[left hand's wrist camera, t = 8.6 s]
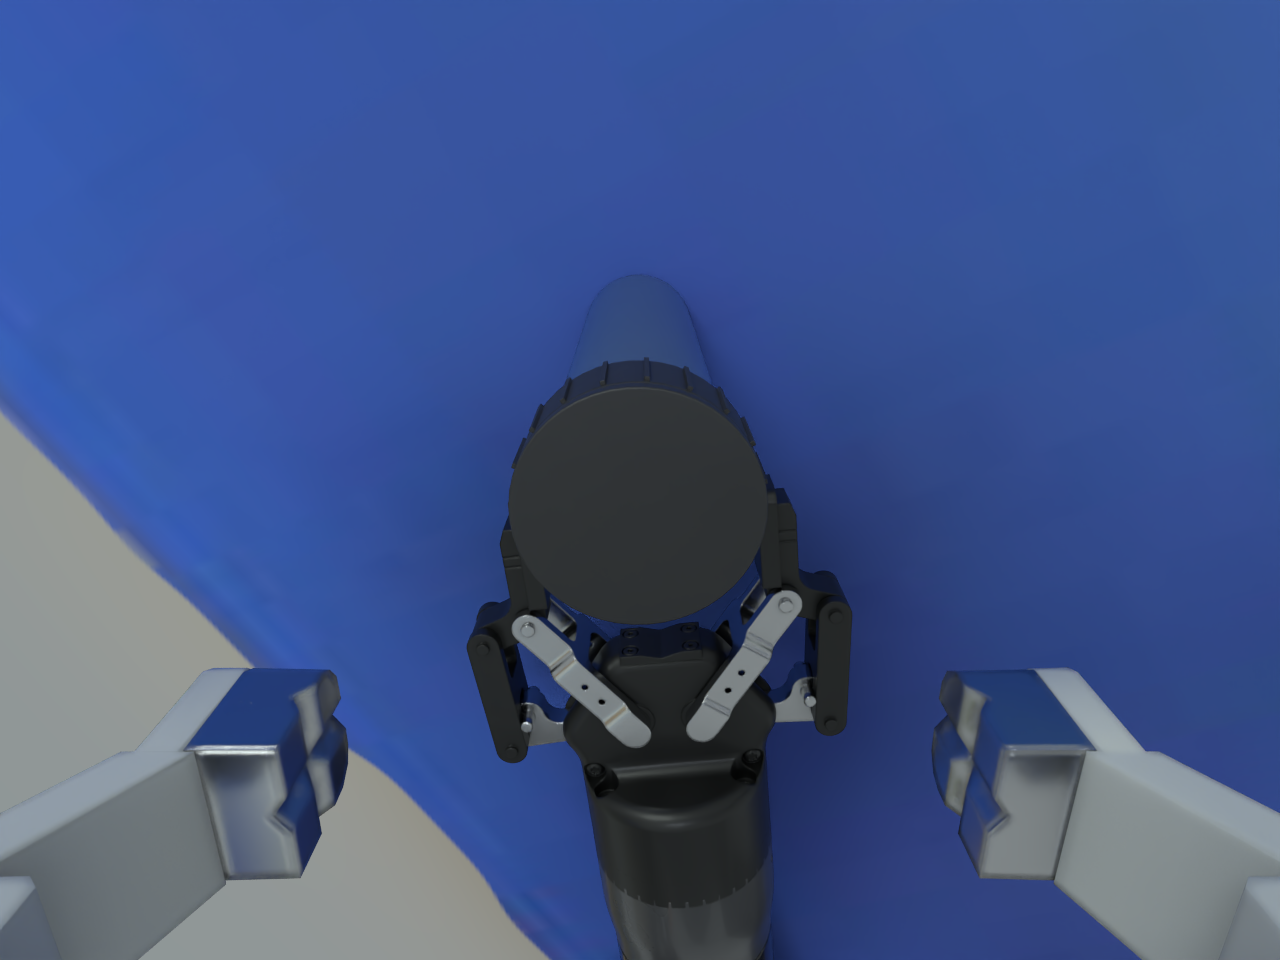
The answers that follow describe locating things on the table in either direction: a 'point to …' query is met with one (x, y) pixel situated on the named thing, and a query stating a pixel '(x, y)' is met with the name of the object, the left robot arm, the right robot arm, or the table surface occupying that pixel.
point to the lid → (638, 493)
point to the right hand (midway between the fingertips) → (642, 493)
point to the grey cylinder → (638, 328)
